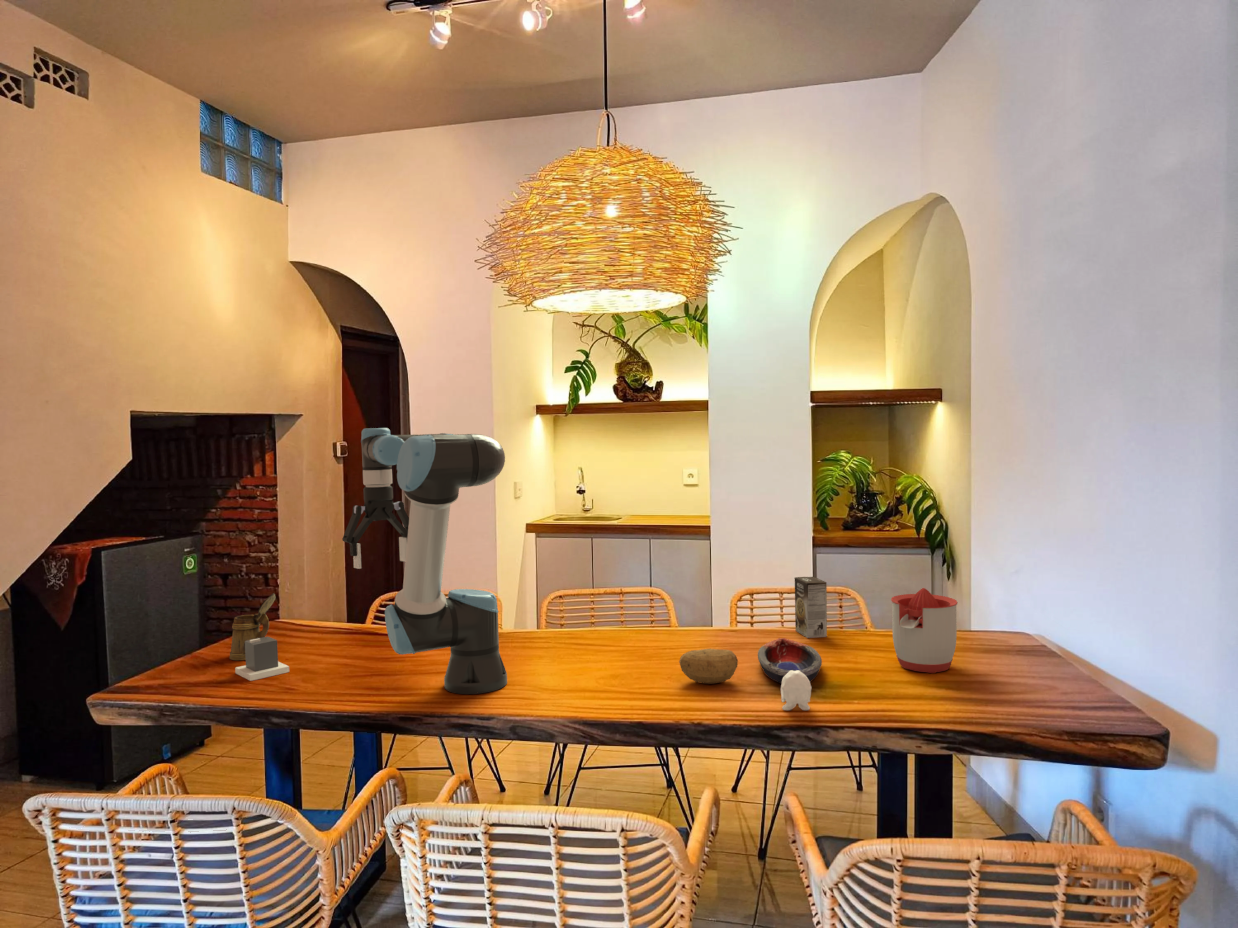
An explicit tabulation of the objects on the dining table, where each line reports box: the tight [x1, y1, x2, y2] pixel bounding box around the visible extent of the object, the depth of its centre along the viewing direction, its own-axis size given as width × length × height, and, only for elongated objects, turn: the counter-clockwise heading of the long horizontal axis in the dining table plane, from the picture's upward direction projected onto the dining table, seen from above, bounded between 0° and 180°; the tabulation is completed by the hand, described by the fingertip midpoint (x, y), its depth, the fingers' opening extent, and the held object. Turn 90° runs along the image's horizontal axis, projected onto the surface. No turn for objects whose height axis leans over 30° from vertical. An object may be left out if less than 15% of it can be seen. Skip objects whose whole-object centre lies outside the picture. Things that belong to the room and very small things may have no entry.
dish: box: [757, 637, 823, 684], centre depth 207 cm, size 16×31×5 cm, turn 172°
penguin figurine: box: [780, 670, 812, 711], centre depth 182 cm, size 6×8×12 cm
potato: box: [678, 648, 739, 685], centre depth 199 cm, size 10×14×8 cm
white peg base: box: [234, 661, 290, 682], centre depth 217 cm, size 10×10×6 cm
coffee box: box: [794, 576, 828, 639], centre depth 242 cm, size 9×6×16 cm
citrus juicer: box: [890, 587, 958, 674], centre depth 206 cm, size 16×17×20 cm
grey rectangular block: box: [245, 636, 279, 672], centre depth 217 cm, size 6×6×8 cm
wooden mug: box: [229, 592, 277, 661], centre depth 233 cm, size 9×14×18 cm, turn 84°
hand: (381, 564), depth 222 cm, fingers open, 13 cm apart
